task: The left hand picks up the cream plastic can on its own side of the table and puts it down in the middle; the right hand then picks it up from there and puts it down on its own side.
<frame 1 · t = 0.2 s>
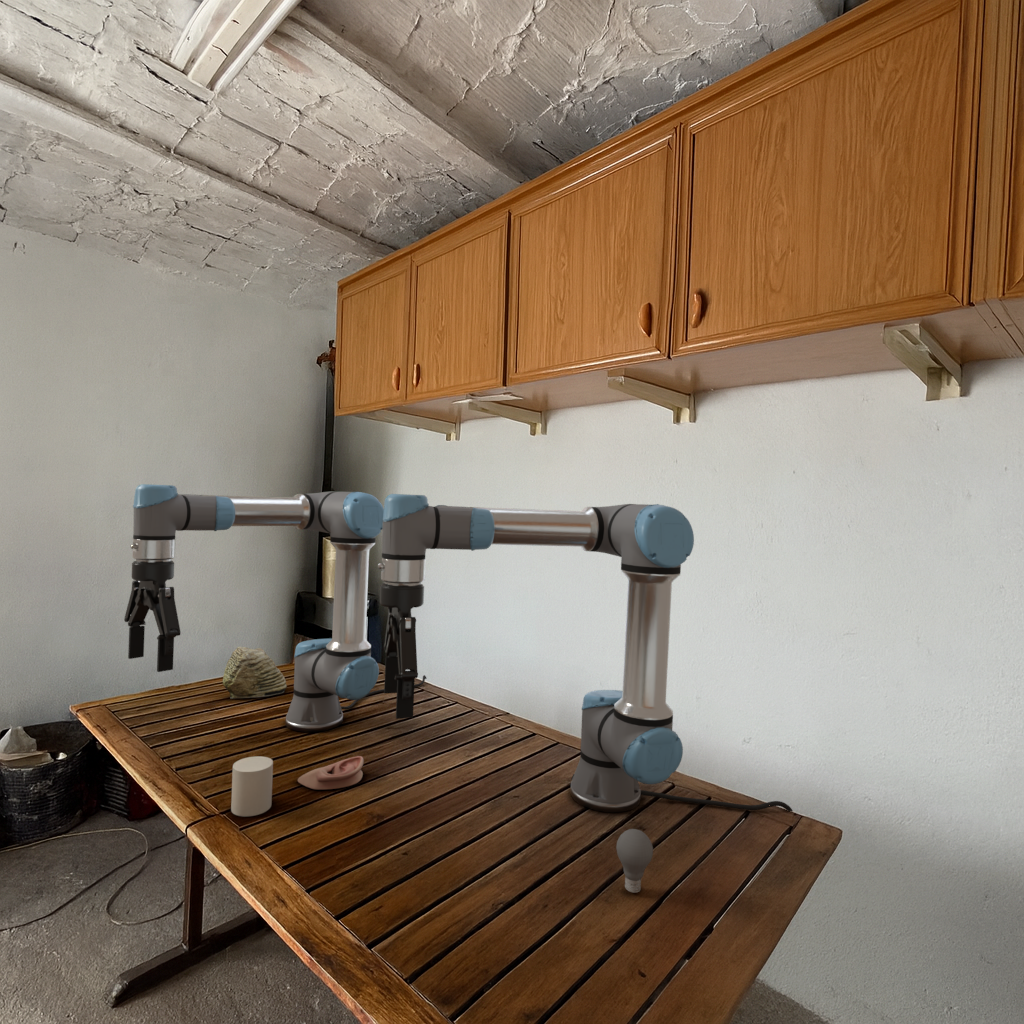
left hand: (150, 664, 129), 28 cm above the table, tool pointing down, fingers open, 13 cm apart
right hand: (397, 704, 110), 28 cm above the table, tool pointing down, fingers open, 13 cm apart
can: (251, 807, 128), on the table
anatomical model: (330, 779, 142), on the table
light bulb: (632, 891, 106), on the table
fossil: (254, 694, 198), on the table
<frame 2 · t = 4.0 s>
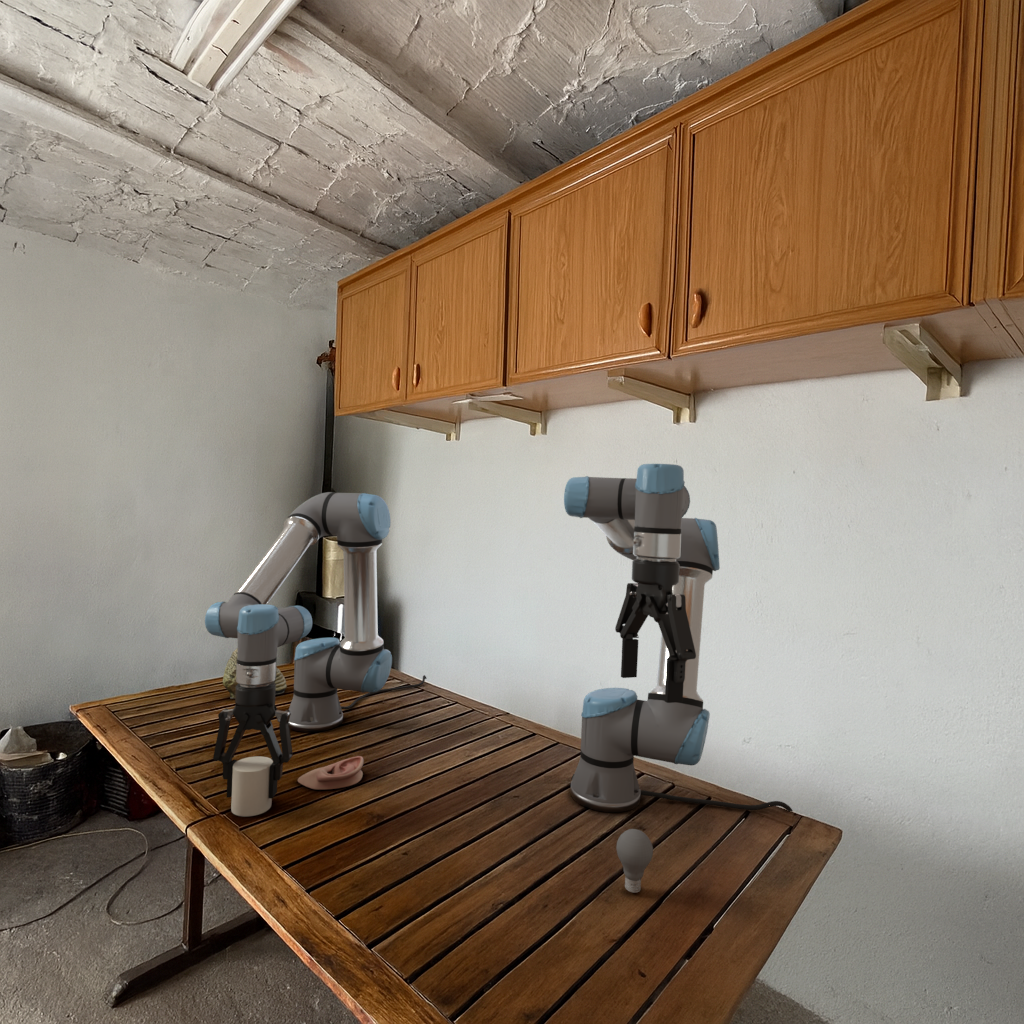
left hand: (251, 794, 128), 3 cm above the table, tool pointing down, fingers closed on can, 8 cm apart
right hand: (649, 688, 103), 35 cm above the table, tool pointing down, fingers open, 13 cm apart
can: (251, 807, 128), on the table, touching left hand
everything else where it was.
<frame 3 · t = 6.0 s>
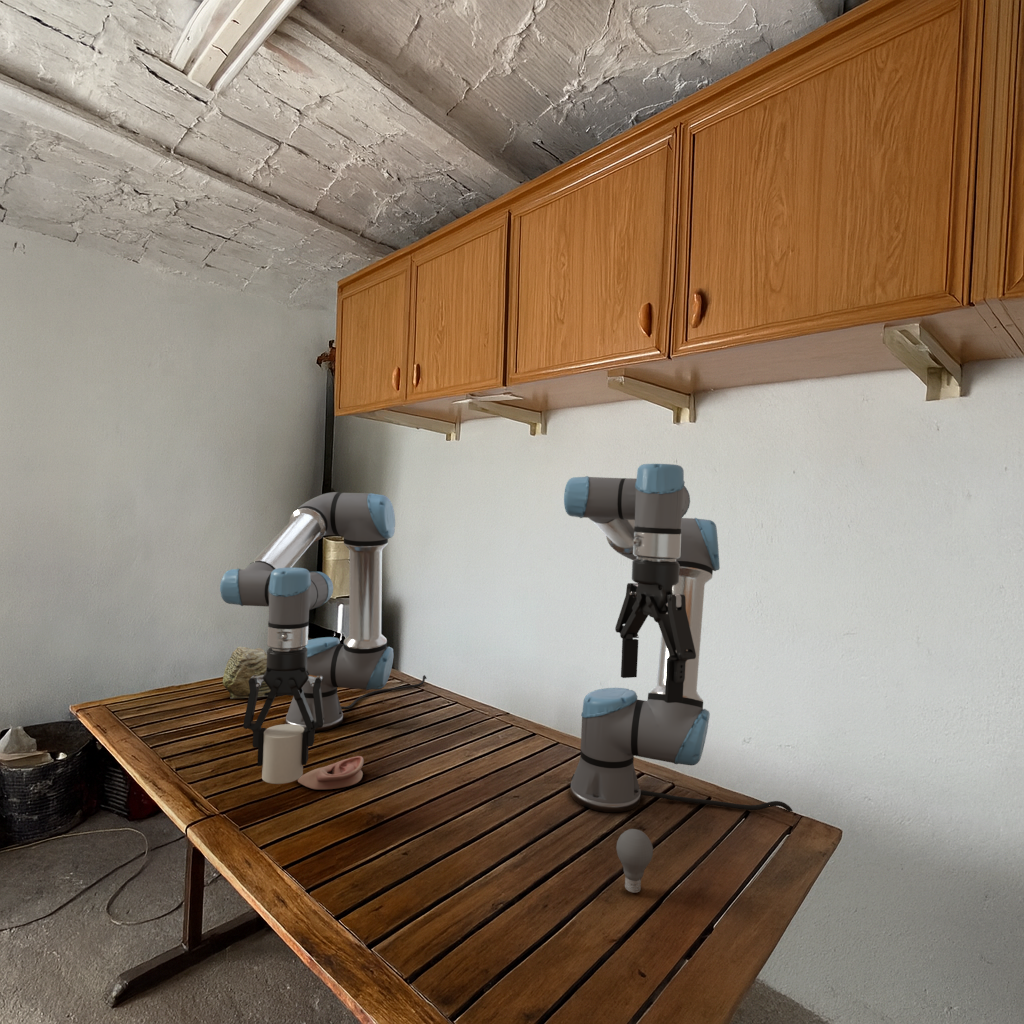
left hand: (283, 762, 125), 11 cm above the table, tool pointing down, fingers closed on can, 8 cm apart
right hand: (649, 688, 103), 35 cm above the table, tool pointing down, fingers open, 13 cm apart
can: (282, 775, 125), point 8 cm above the table, touching left hand
everything else where it was.
when the left hand's fingers open (4 cm above the table, at t = 8.2 s): can drops 2 cm, on the table.
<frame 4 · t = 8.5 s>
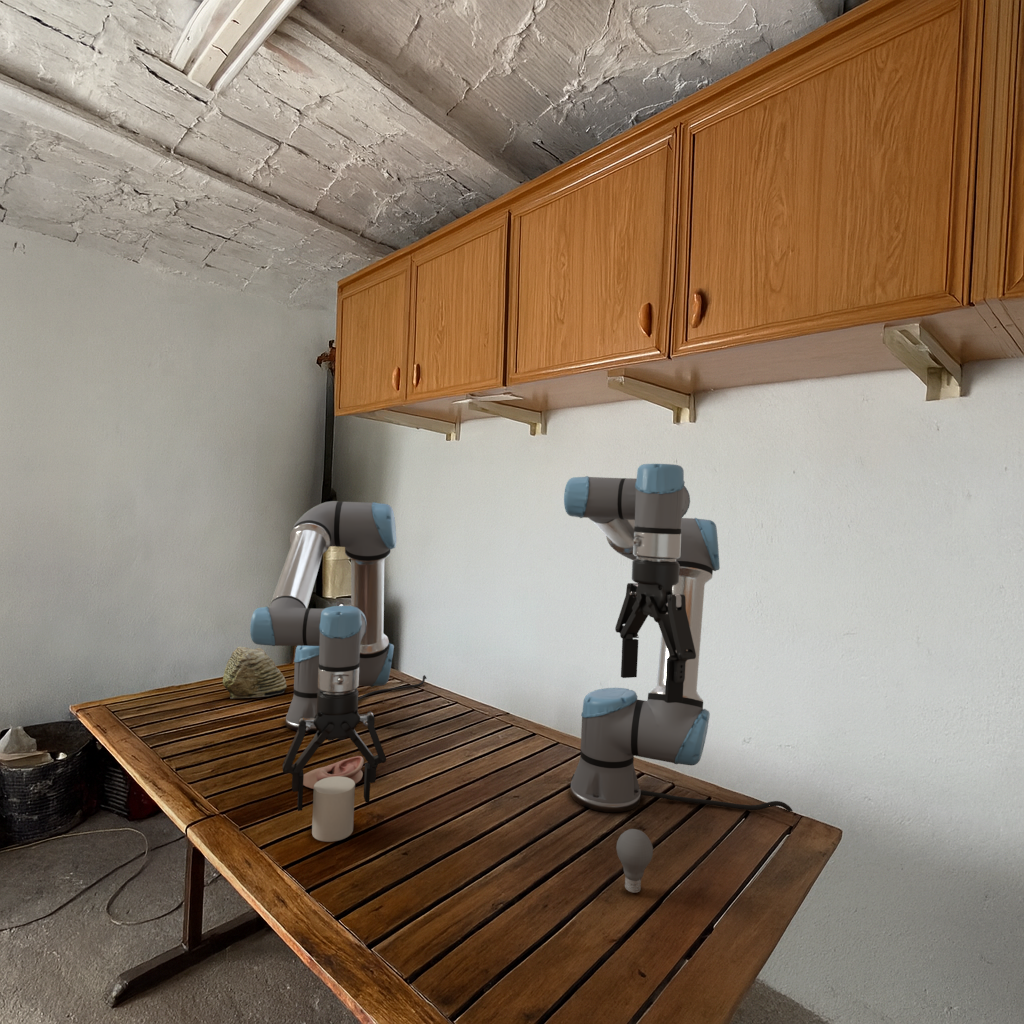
left hand: (333, 803, 120), 5 cm above the table, tool pointing down, fingers open, 11 cm apart
right hand: (649, 688, 103), 35 cm above the table, tool pointing down, fingers open, 13 cm apart
can: (332, 831, 120), on the table
everything else where it was.
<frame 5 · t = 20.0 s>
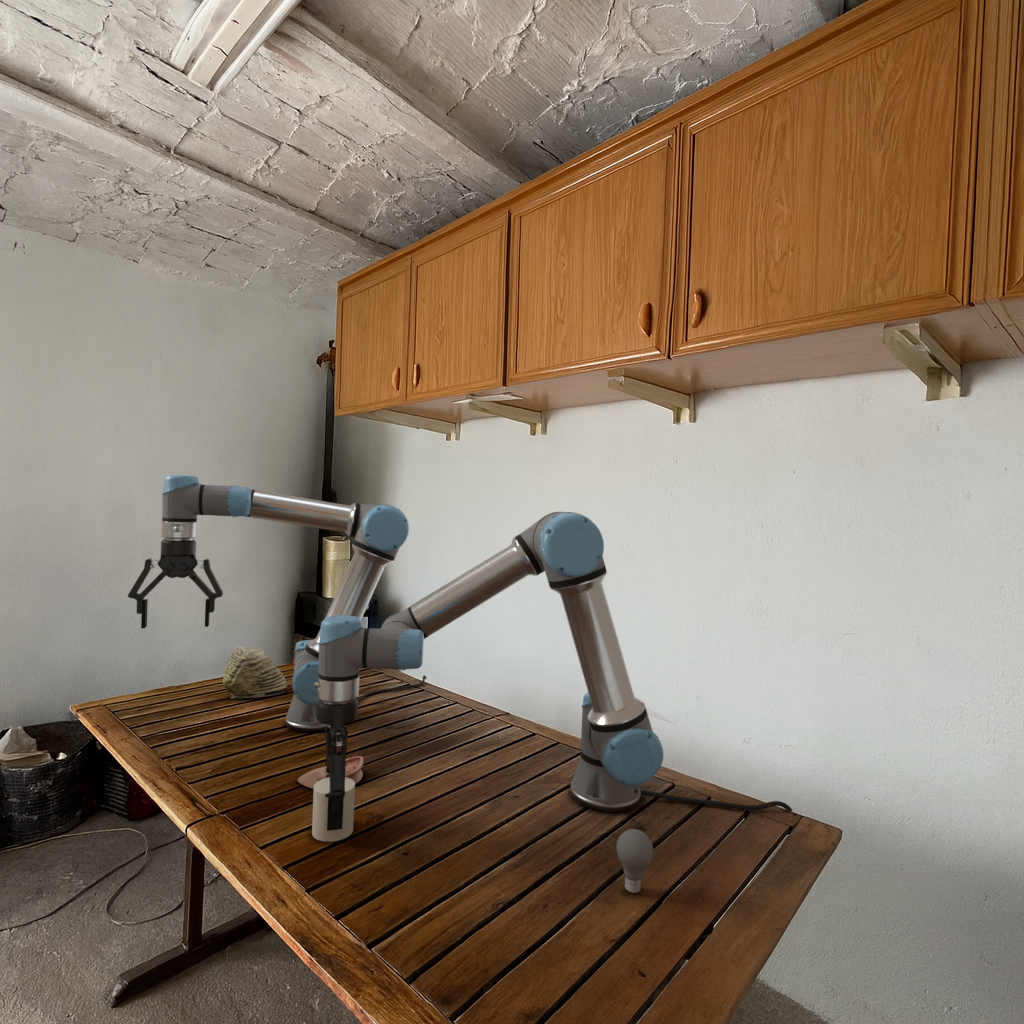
left hand: (175, 626, 153), 30 cm above the table, tool pointing down, fingers open, 13 cm apart
right hand: (333, 817, 120), 3 cm above the table, tool pointing down, fingers closed on can, 8 cm apart
can: (332, 831, 120), on the table, touching right hand
everything else where it was.
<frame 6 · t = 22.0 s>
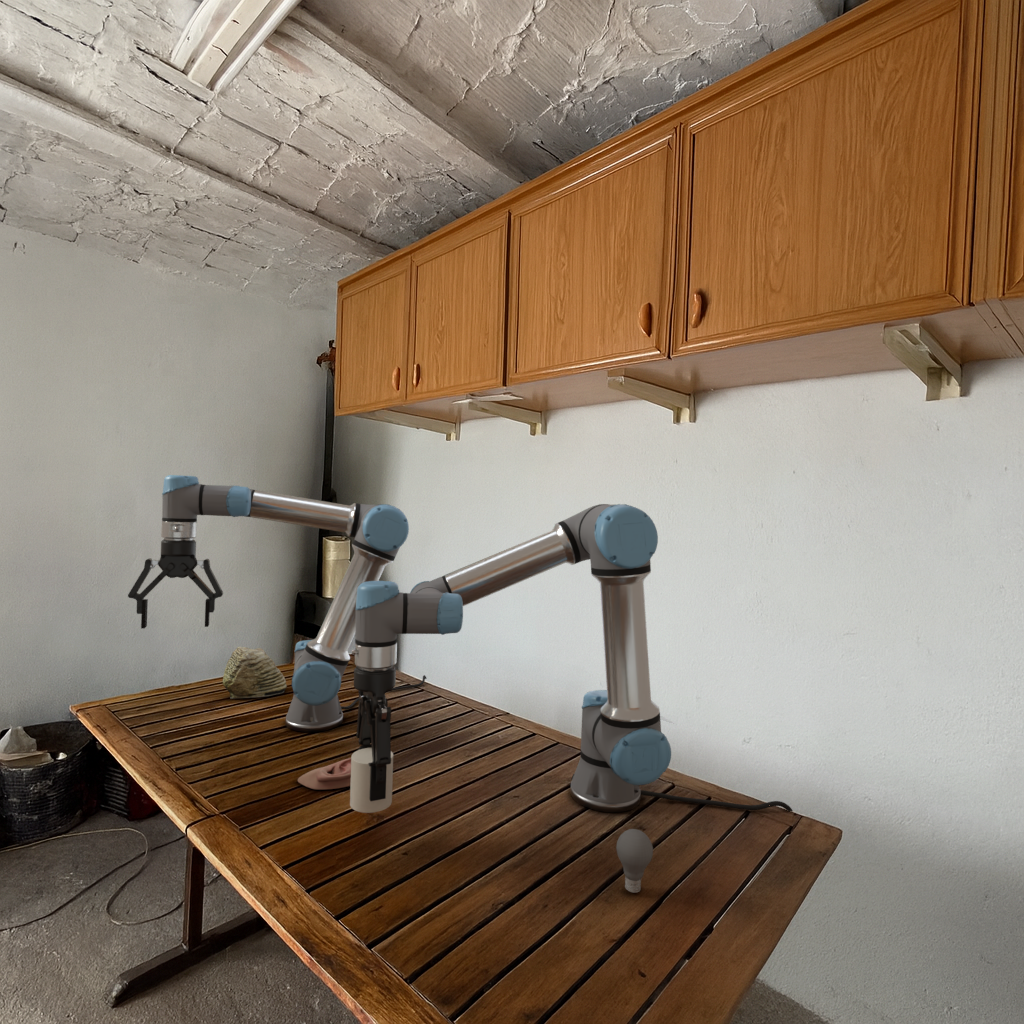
left hand: (175, 626, 153), 30 cm above the table, tool pointing down, fingers open, 13 cm apart
right hand: (371, 789, 117), 10 cm above the table, tool pointing down, fingers closed on can, 8 cm apart
can: (371, 802, 117), point 8 cm above the table, touching right hand
everything else where it was.
when the right hand's fingers open (4 cm above the table, at t = 24.2 s): can drops 2 cm, on the table.
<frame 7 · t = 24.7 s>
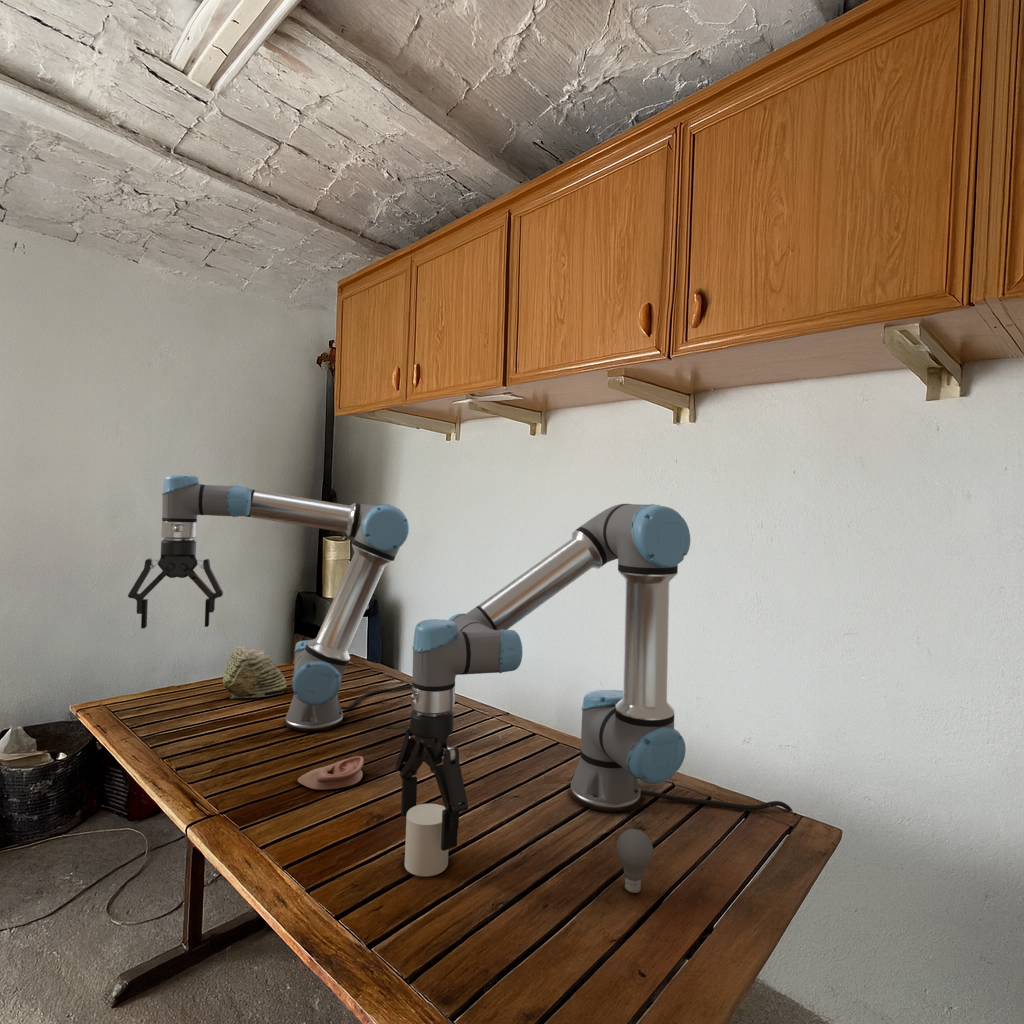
left hand: (175, 626, 153), 30 cm above the table, tool pointing down, fingers open, 13 cm apart
right hand: (427, 830, 111), 6 cm above the table, tool pointing down, fingers open, 13 cm apart
can: (426, 863, 111), on the table
everything else where it was.
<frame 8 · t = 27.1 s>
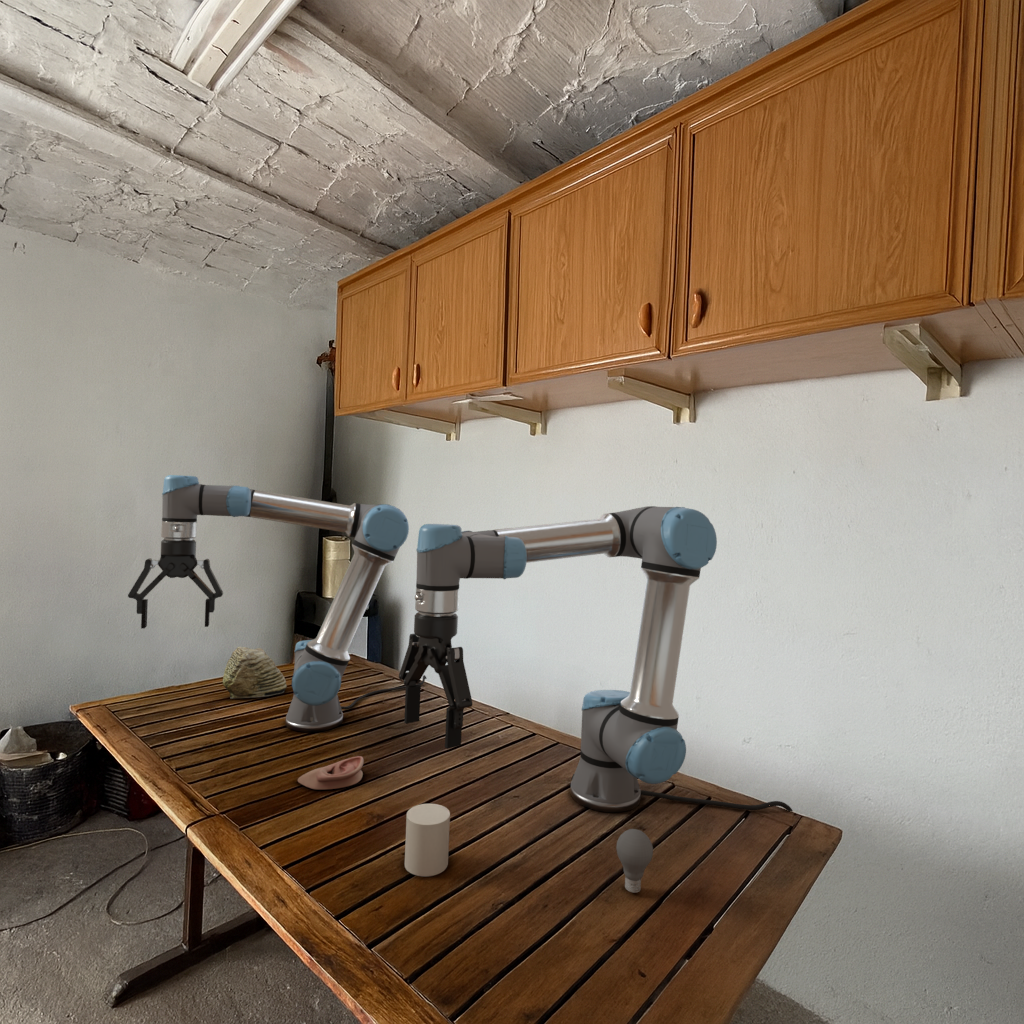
left hand: (175, 626, 153), 30 cm above the table, tool pointing down, fingers open, 13 cm apart
right hand: (431, 733, 111), 23 cm above the table, tool pointing down, fingers open, 13 cm apart
nothing on the table moved.
at the end: can inside the target area (0.1 cm from its centre), on the table; can tilted 0°; the two hands never held the can at the same time; the left hand is holding nothing; the right hand is holding nothing; can at rest at the end (0.0 cm/s) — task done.
